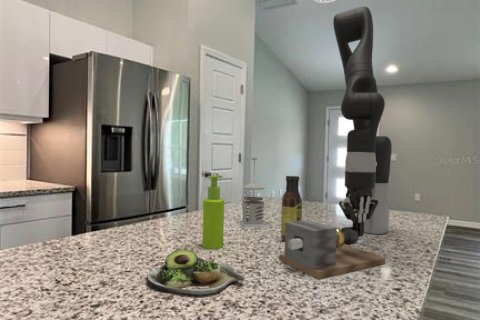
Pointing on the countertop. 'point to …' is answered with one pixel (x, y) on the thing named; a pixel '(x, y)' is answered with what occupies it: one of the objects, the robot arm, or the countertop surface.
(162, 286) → the salad plate
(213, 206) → the soap dispenser
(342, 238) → the shaft
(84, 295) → the countertop surface
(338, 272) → the bearing block
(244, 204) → the french press
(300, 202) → the sauce bottle
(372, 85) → the robot arm
